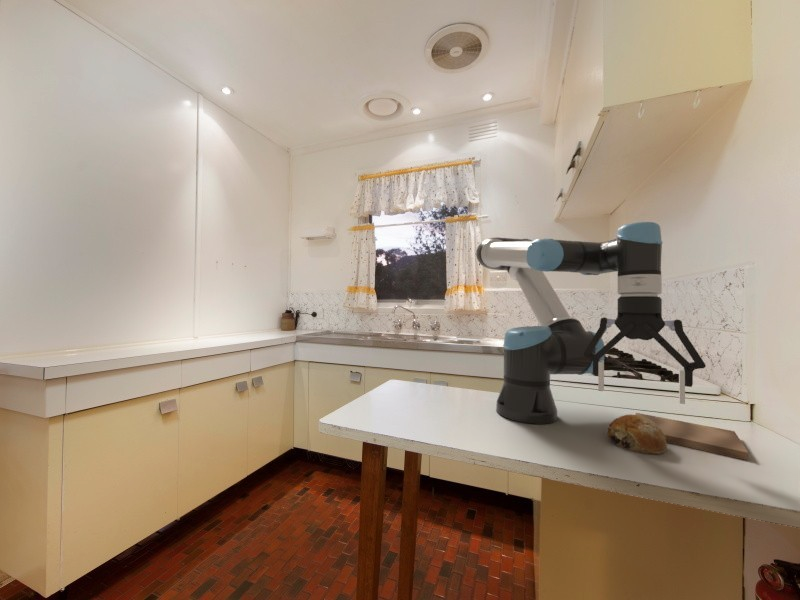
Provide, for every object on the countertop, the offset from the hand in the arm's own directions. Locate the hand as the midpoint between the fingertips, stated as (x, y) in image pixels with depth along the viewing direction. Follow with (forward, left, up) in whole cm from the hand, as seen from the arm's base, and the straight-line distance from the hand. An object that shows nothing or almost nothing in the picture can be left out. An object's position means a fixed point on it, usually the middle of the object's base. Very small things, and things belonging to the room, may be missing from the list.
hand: (638, 396), depth 67 cm
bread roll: (0, 0, -11) cm, 11 cm away
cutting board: (+8, +13, -10) cm, 18 cm away
